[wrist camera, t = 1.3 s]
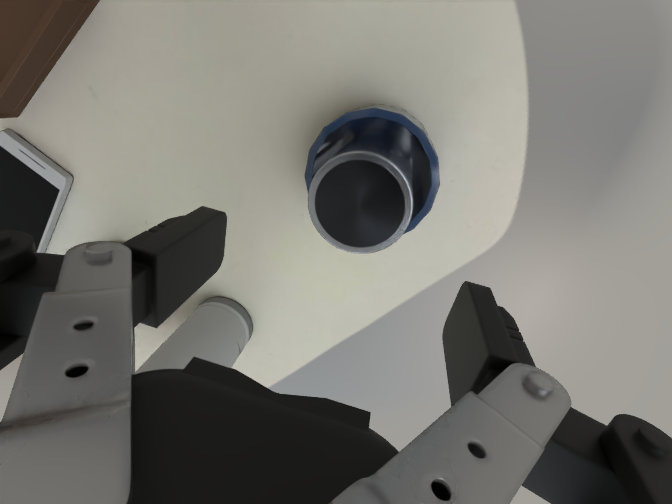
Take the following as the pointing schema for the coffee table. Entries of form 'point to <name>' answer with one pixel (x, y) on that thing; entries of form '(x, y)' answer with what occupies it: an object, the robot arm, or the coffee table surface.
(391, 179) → the silver cup
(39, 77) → the tray
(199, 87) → the coffee table surface
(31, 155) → the smartphone
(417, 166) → the bucket
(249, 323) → the travel mug
